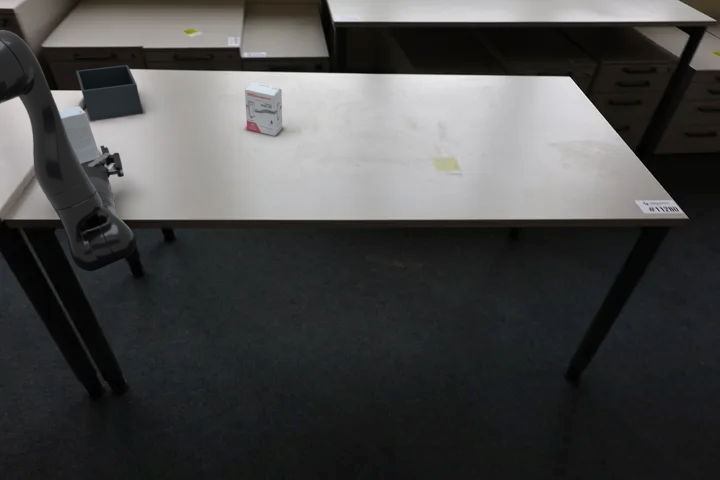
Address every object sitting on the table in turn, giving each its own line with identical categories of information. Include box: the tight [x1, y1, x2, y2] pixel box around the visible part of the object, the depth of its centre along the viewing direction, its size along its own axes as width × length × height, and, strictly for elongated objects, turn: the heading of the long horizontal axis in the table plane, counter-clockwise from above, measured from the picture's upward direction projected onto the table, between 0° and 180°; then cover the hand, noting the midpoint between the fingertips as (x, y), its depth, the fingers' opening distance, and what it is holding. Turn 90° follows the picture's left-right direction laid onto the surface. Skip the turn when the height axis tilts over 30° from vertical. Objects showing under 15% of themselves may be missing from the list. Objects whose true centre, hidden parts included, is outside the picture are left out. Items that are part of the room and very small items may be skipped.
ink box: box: [244, 81, 283, 137], centre depth 136 cm, size 9×5×12 cm, turn 73°
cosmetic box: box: [58, 105, 101, 164], centre depth 119 cm, size 6×4×12 cm
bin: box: [75, 64, 143, 122], centre depth 140 cm, size 13×13×8 cm
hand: (81, 152), depth 112 cm, fingers open, 8 cm apart
